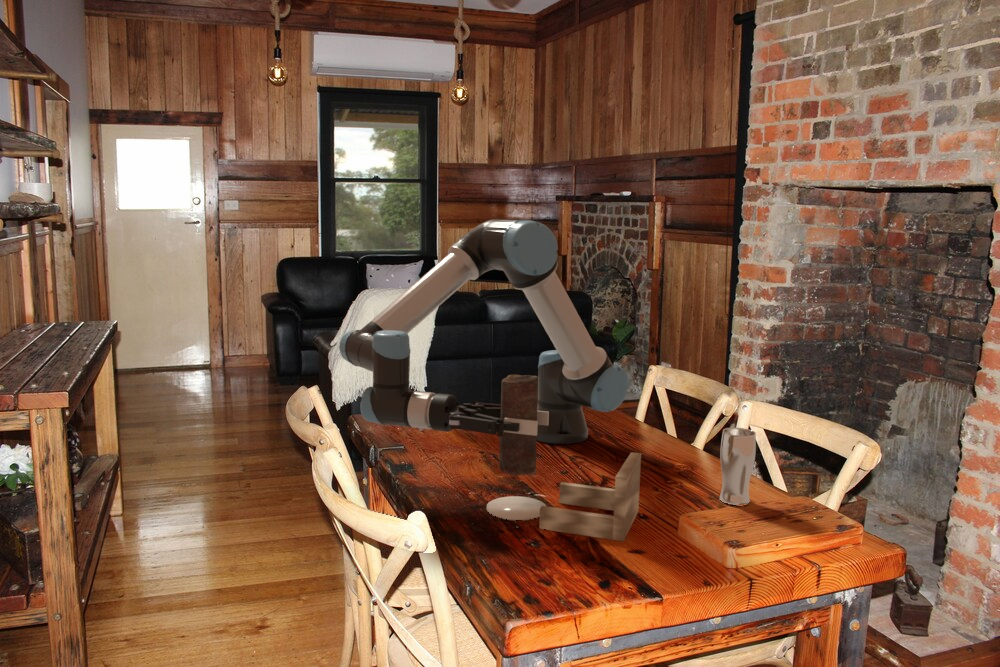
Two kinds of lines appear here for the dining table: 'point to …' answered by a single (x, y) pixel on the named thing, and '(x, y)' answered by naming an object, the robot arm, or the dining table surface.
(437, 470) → the dining table surface
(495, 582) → the dining table surface
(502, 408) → the candle
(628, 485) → the shelf
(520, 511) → the coaster
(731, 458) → the beer glass
